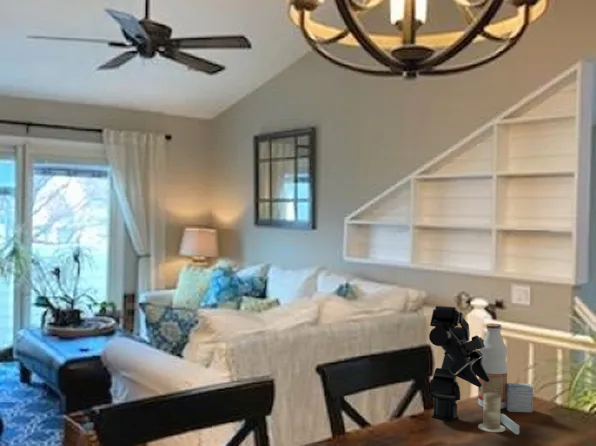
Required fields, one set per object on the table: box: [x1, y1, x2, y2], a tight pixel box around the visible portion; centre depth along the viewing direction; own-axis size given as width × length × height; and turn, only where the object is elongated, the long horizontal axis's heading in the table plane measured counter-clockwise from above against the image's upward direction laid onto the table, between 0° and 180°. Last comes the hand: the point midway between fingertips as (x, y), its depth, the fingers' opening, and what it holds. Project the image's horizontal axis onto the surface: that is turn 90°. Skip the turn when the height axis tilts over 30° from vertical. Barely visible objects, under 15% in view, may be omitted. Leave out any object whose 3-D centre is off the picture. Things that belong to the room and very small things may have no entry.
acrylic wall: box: [500, 413, 520, 435], centre depth 205 cm, size 12×1×2 cm, turn 5°
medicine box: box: [505, 382, 534, 413], centre depth 223 cm, size 8×4×9 cm, turn 84°
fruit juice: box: [477, 322, 508, 410], centre depth 228 cm, size 9×9×28 cm
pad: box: [477, 422, 506, 433], centre depth 205 cm, size 8×8×1 cm
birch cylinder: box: [482, 392, 501, 430], centre depth 205 cm, size 5×5×10 cm
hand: (484, 383), depth 205 cm, fingers open, 9 cm apart
